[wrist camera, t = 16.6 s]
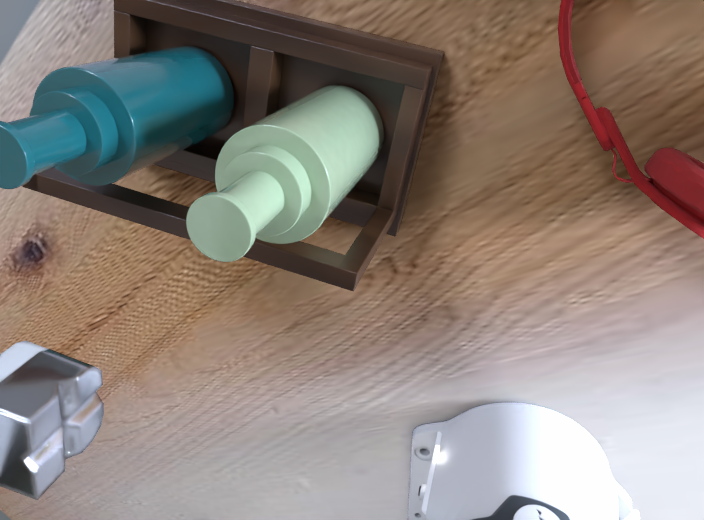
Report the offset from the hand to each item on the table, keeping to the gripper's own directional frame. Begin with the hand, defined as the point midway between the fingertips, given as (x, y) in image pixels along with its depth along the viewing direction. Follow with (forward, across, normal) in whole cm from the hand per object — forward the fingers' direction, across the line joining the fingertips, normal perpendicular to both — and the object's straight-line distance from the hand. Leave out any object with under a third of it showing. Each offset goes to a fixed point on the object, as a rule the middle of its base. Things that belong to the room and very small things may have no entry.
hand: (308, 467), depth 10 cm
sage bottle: (+32, +9, +5) cm, 34 cm away
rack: (+34, +14, +5) cm, 37 cm away
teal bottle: (+32, +20, +4) cm, 38 cm away
